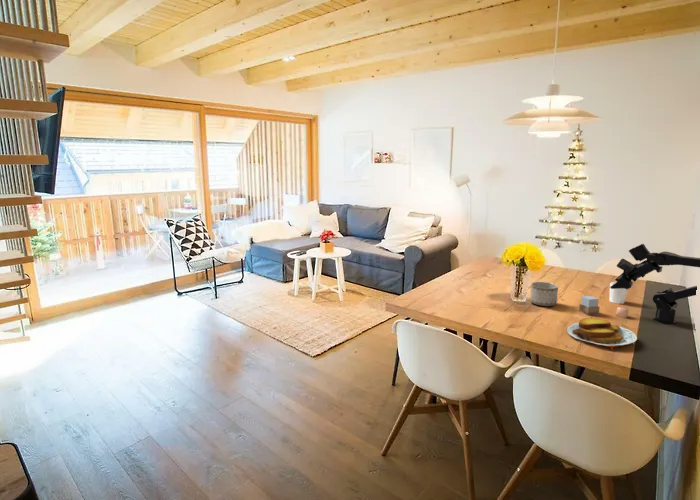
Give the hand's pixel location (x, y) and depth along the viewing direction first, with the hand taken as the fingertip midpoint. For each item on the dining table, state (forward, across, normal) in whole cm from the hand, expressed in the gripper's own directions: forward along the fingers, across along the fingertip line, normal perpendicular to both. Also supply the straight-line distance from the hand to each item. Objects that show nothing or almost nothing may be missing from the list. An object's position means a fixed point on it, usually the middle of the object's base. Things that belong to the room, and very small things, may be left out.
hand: (613, 284), depth 199 cm
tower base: (+11, +18, +3) cm, 21 cm away
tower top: (+8, +17, 0) cm, 19 cm away
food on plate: (-2, +46, +6) cm, 47 cm away
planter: (+26, +19, -12) cm, 34 cm away
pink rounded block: (+2, +12, +12) cm, 17 cm away
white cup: (+10, -10, +11) cm, 18 cm away
